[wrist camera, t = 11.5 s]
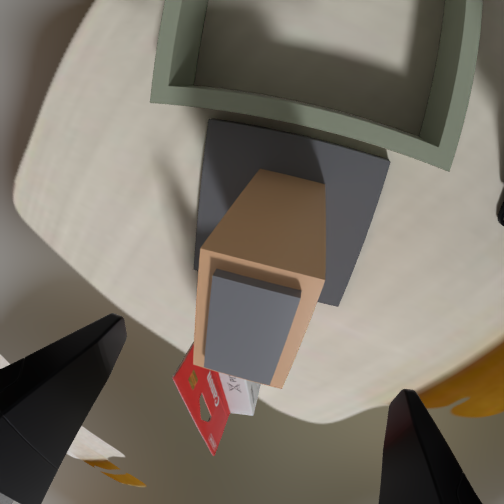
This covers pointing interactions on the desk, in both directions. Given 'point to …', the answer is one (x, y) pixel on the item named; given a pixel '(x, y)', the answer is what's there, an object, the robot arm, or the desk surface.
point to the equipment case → (421, 148)
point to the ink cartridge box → (213, 397)
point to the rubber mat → (302, 166)
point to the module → (261, 279)
